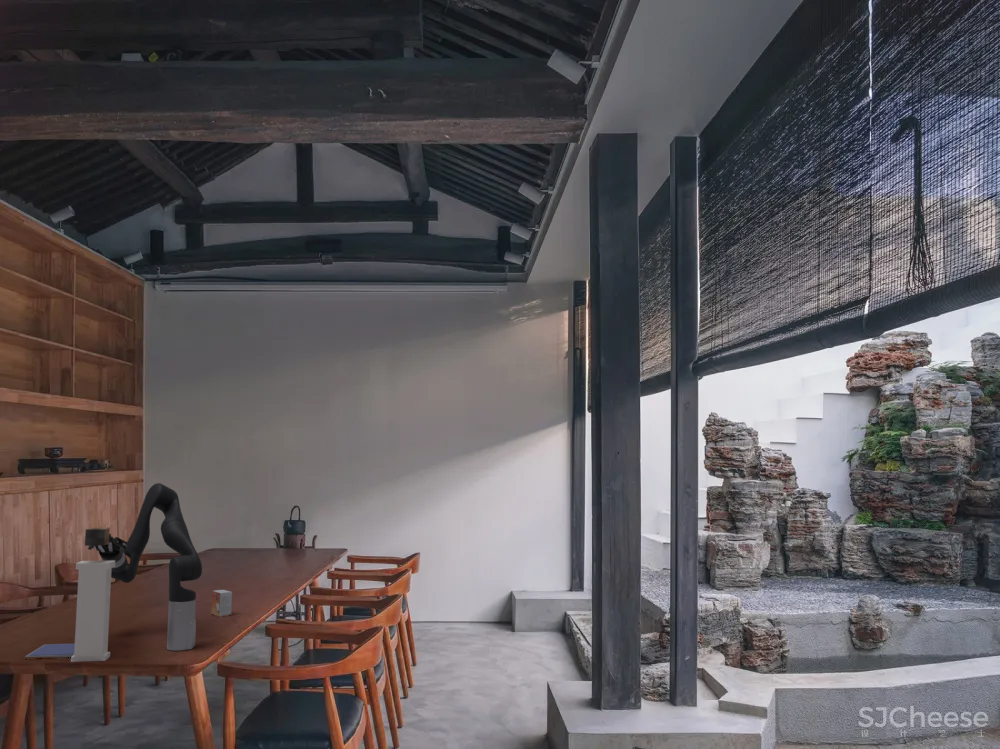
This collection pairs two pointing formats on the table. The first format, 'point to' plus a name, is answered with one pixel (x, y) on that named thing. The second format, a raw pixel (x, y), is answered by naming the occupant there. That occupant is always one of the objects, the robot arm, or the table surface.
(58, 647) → the pad
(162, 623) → the table surface
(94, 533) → the stamp
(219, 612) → the small box
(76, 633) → the tall post
